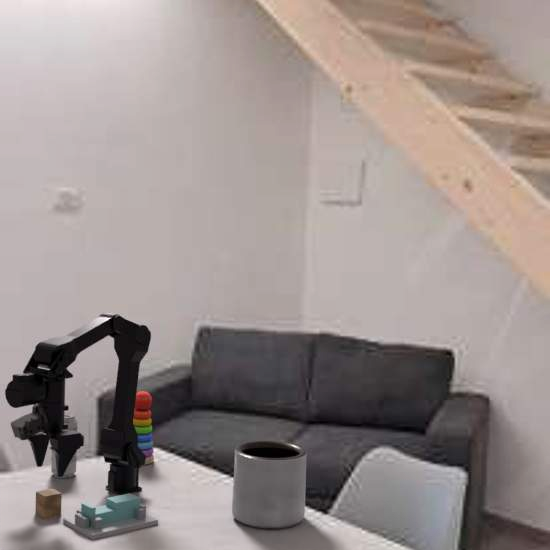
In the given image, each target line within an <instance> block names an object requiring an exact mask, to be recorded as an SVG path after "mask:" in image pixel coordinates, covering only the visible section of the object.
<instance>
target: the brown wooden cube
mask: <svg viewBox="0 0 550 550" xmlns="http://www.w3.org/2000/svg"><path fill="white" fill-rule="evenodd" d="M62 494H63V493H62V492H60V491H58V490H57V489H55V488H48V489H42V490H37V491H35V513H34V514H35V515H36V514H37V515H36V516H38V515H39V516H38V517H40V516H41V517H40V518H42V519H43V518H44V519H43V520H47V519H51V518H50V517H52V518H55V517H54V516H57V517H60V516H59V515H61V516H62ZM46 518H47V519H46Z"/></svg>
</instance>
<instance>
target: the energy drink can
mask: <svg viewBox="0 0 550 550" xmlns="http://www.w3.org/2000/svg"><path fill="white" fill-rule="evenodd" d="M64 423H66V424H68V429H65V430H62V431H67V430H74V431H77V432H78V421H77V419H76V415H75V414H74V413H70V412H69V413H68V412H65V415H64ZM77 451H78V450H77ZM77 451H76V453H75V455H74V456H73V458H72V460H71V461H70V463H69V465H68V467H67V469H66V471H65V473H64V475H63V476H62V477H58V476H57V469H56V457H55V453H54V452H53V451H52V450H51V465H50V466H51V467H50V469H51V470H50V471H51V474H53V475H52V476H53V477H54V478H58V479H67V477H68V478H72V477H74V476H75V473H76V472H77V453H78V452H77Z"/></svg>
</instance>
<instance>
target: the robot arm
mask: <svg viewBox="0 0 550 550" xmlns="http://www.w3.org/2000/svg"><path fill="white" fill-rule="evenodd" d="M151 333H152V332H151V330H149V327H148V326H147V325H145V324H139V323H135V322H133V321H131V320H128V319H126V318H125V317H123V316H121V315H120V314H117V313H110V312H103V313H101V314H99V316H98V317H97V318H95V319H93V320H91V321H90V322H87V323H85V324H84V325H82V326H79V328H77V329H75V330H73V331H72V332H70V333H68V334H67V335H64V336H59V337H53V338H48V339H46V340H43V341H39V343H37V344H36V346H35V347H34V348H35V349H34V351H33V353H32V355H31V356H30V358H29V360H28V362H27V364H26V365H25V367H24V369H23V371H22V373H21V374H19V373H15V374H12V380H11V381H10V382H8V384H7V386H6V388H5V390H4V394H5V400H6V401H7V404H8V405H9V406H10V407H11V408H13V409H17V408H23V407H29V406H32V408H31V409H32V411H31V412H30V413H28V414H25V415H22V416H20V417H19V418H17V419H15V420H12V421H11V422H10V427H11V429H12V430H11V431H12V434H13V436H14V438H18V439H19V440H20V441H28V442H29V444H30V447H31V450H32V453H33V457H34V461H35V464H36V467H38V468H41V467H42V466H43V464H44V461H45V458H46V455H47V451H48V448H49V449H50V450H51V452H52V451H53V452H54V453H55V457H56V469H57V476H58V477H62V476H63V475H64V473H65V471H66V469H67V467H68V465H69V463H70V461H71V460H72V458H73V456H74V455H75V453H76V451H78V450H79V449H81V447H84V445H85V436H84V435H83V434H82V433H81V432H78V430H77V431H74V430H67V431H62V430H65V429H68V424H66V423H64V415H65V413H66V412H67V411H69V407H70V406H69V405H68V404H66V379H73V378H74V374H73V373H71V371H69V370H68V367H70V366H71V365H72V364H73V363H74V362H75V361H76V360H77V357H78V355H79V354H80V353H82V352H83V351H85V350H86V349H88V348H90V347H92V346H93V345H94V344H96V343H99V342H100V341H102V340H103V339H105V338H107V337H110V338H112V339H113V348H114V349H113V350H114V351H115V355H116V356H117V359H118V367H117V373H116V381H115V389H114V399H113V405H112V406H113V407H112V416H111V421H110V422H109V423H108V425H107V426H106V427H102V428H101V430H100V440H99V443H98V445H99V446H100V452H101V453H102V456H103V459H104V463H106V464H109V470H108V471H107V485H105V489H106V490H110V491H111V492H113V493H116V494H117V495H124V494H129V493H130V494H131V493H134V492H139V491H142V490H143V487H141V486H139V484H140V482H139V480H140V478H139V477H140V468H141V467H142V466H143V467H144V466H145V465H144V464H145V460H146V455H145V454H144V453H143V452H142V451H141V450H140V448H139V447H138V434H137V432H136V429H135V427H134V424H133V418H134V409H136V408H135V401H136V393H138V392H137V391H138V382H139V376H140V375H139V373H140V365H141V362H142V360H143V359H144V358H145V356H146V355H147V353H149V348H150V344H151V340H152V334H151ZM65 411H66V412H65ZM49 444H50V447H49Z"/></svg>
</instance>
